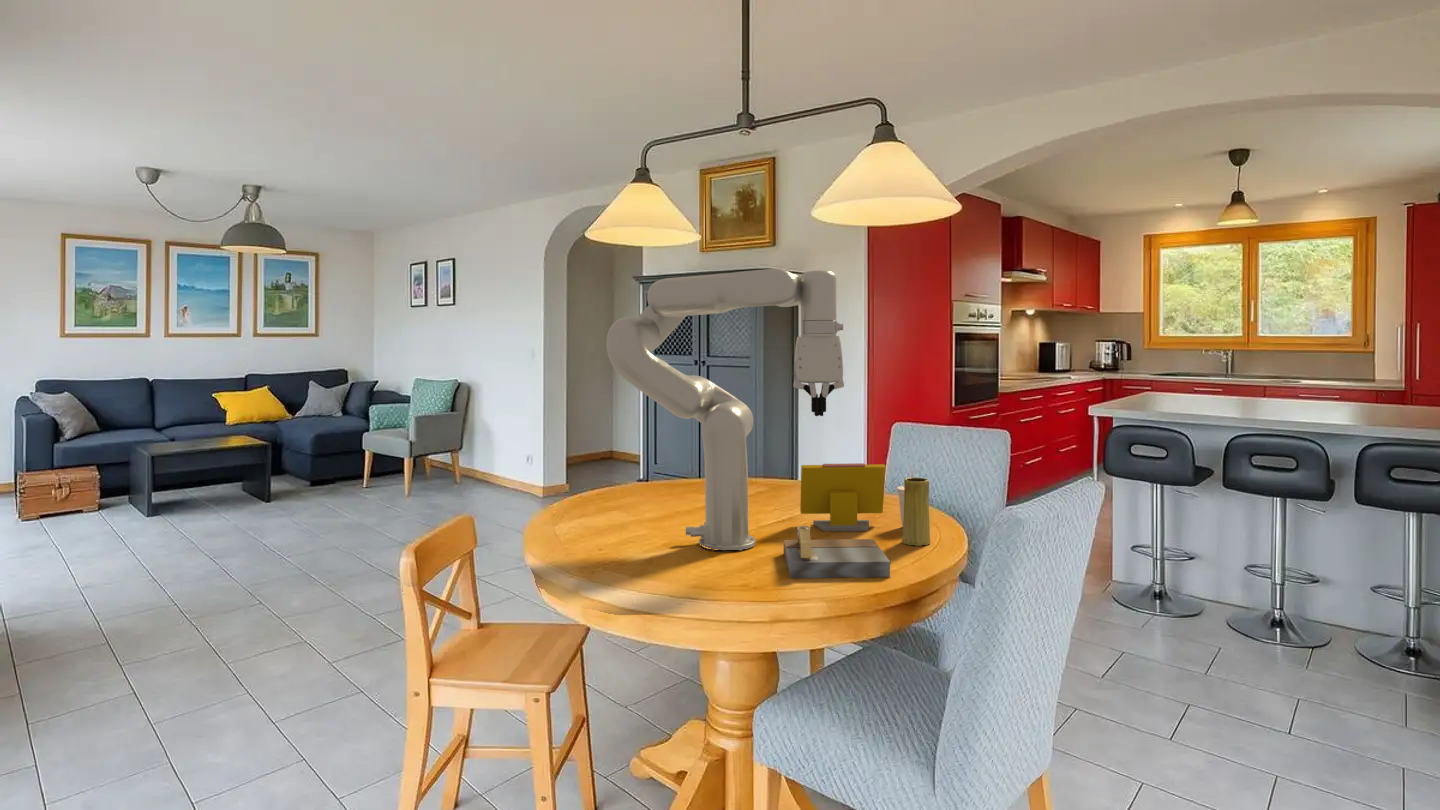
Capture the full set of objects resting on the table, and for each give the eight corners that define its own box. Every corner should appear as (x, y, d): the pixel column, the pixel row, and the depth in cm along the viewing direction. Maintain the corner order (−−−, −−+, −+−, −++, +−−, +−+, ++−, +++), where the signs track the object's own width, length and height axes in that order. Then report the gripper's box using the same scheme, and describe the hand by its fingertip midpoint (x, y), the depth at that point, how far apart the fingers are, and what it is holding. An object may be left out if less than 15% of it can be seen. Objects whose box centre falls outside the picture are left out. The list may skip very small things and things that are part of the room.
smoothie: (908, 532, 181) (909, 473, 180) (890, 526, 187) (891, 469, 186) (929, 528, 184) (930, 470, 183) (911, 523, 190) (911, 467, 189)
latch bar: (797, 539, 162) (797, 525, 162) (809, 540, 162) (809, 525, 162) (799, 558, 148) (799, 542, 148) (813, 558, 148) (812, 542, 148)
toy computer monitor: (881, 523, 190) (881, 460, 189) (887, 531, 182) (887, 465, 181) (800, 524, 191) (799, 461, 190) (802, 531, 183) (802, 466, 182)
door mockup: (790, 578, 147) (790, 562, 147) (783, 553, 164) (783, 539, 164) (890, 577, 147) (890, 561, 146) (873, 553, 164) (873, 538, 163)
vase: (931, 547, 168) (931, 482, 167) (902, 545, 169) (902, 481, 168) (929, 539, 174) (929, 477, 173) (901, 538, 175) (901, 476, 174)
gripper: (850, 329, 168) (850, 413, 169) (782, 330, 168) (782, 414, 169) (856, 328, 160) (856, 416, 162) (784, 329, 160) (785, 417, 162)
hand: (818, 415), depth 165 cm, fingers closed
